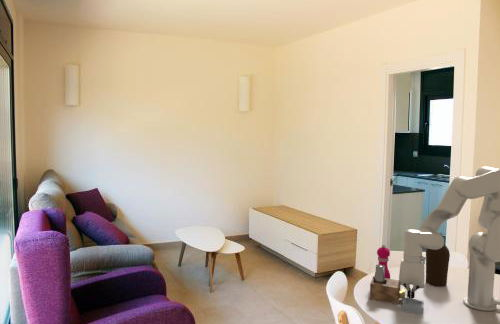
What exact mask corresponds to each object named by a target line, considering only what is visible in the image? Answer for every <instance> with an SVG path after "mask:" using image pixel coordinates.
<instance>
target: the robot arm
mask: <svg viewBox="0 0 500 324" xmlns="http://www.w3.org/2000/svg"><path fill="white" fill-rule="evenodd" d="M478 198H483V201H482V205H481V209H480V213H479V216H478V219H477V222H478V225H479V227H481V228H482V229H484V230H485V231H487V232H483V231H479V232H475V233H473V234H472V235H471V236H470V237H469V239H468V252H469V267H468V270H469V271H468V285H467V296H466V297H463V299H462V302H463V304H464V305H466V306H467V307H469V308H471V309H474V310H478V311H483V312H493V311H496V310H497V307H498V306H500V298H496V297H494V286H495V275H496V274H495V273H496V263H499V262H500V168H498V167H497V168H496V167H492V166H481V167H479V168H478V169H477V170H476V172H475V176H474V177H468V176H464V175H463V176H462V175H461V176H459V175H458V176H456V177H454V179H453V180H452V181H451V182H450V184H449V186H448V188H447V190H446V191H445V193H444V195H443V197H442V198H441V200H440V202H439V204H438V205H437V206H436V207H434V208H433V210H432V211H430V212H429V214H428V215H427V216H426V217H425V218H424V220H423V222H422V223H421V226H420V227H419V229H414V228H413V229H412V228H408V229H406V230H405V231H404V234H403V235H404V236H403V237H404V238H403V239H404V240H403V258H401V260H400V266H399V273H398V274H399V275H398V280H399V282H398V284H400V285H401V287H404V289H406V291H407V292H406V298H411V299H415V296H416V295H415V292H416V291H418V290H419V289H425V287H426V286H425V277H426V274H425V262H424V261H426V256H425V257H424V255H423V249H433V250H437V249H440V248H442V247H443V245H444V244H445V239H444V236H443V234H442V235H440V234H439V233H440V232H438V231H439V229H440V228H441V226H442V225H443V224H444V223H446V221H448V220H451V219H454V218H455V217H458V216H459V215H460V213H461V210H463V207H464V205H465V204H466V202H467V200H475V199H478ZM411 285H412V288H411Z"/></svg>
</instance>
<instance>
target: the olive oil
mask: <svg viewBox="0 0 500 324" xmlns="http://www.w3.org/2000/svg"><path fill="white" fill-rule="evenodd" d="M438 233H439V234H440V235H442V236H443V233H442V232H438ZM450 254H451V253H450V250H449V248H448V246H446V245H445V243H444V245H443V247H442V248H440V249H437V250H433V249H427V248H425V257H426V260H425V283H426V284H427V285H428V286H433V287H438V288H444V287H446V286H447V283H448V276H449V275H448V273H449V267H450V266H449V265H450V264H449V263H450V257H451V256H450Z"/></svg>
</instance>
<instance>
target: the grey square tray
mask: <svg viewBox="0 0 500 324" xmlns="http://www.w3.org/2000/svg"><path fill="white" fill-rule="evenodd" d="M424 305H425V301H424V300H422V299H417V298H413V299H411V298H409V297H407V296H405V297H404V299H403V301H402V309H401V311H403V312H407V311H408V313H412V312H413V313H414V314H418V315H424V308H425V307H424Z"/></svg>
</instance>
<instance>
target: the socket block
mask: <svg viewBox="0 0 500 324" xmlns="http://www.w3.org/2000/svg"><path fill="white" fill-rule="evenodd" d="M398 282H399V279H393V278H390V279H388V278H385V284H381V283H375V275H374V276H373V277H372V279H371V280H370V283H369V284H370V285H369V300H374V301H379V302H385V303H389V304H390V303H391V304H397V305H399V302H400V299H401V298H399V292H400V291H401V287H402V285H400V284H398Z"/></svg>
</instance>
